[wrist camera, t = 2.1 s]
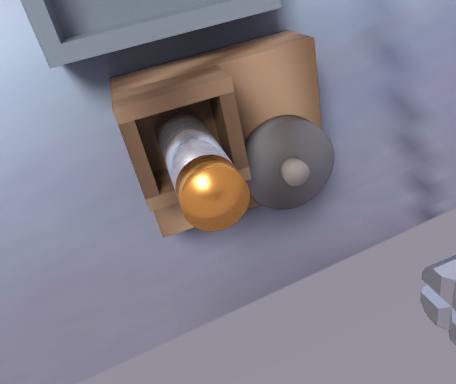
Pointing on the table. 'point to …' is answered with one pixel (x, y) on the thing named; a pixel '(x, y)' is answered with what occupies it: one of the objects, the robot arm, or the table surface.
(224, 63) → the wooden holder block
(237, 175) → the lock pin
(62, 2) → the tray
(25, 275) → the table surface
